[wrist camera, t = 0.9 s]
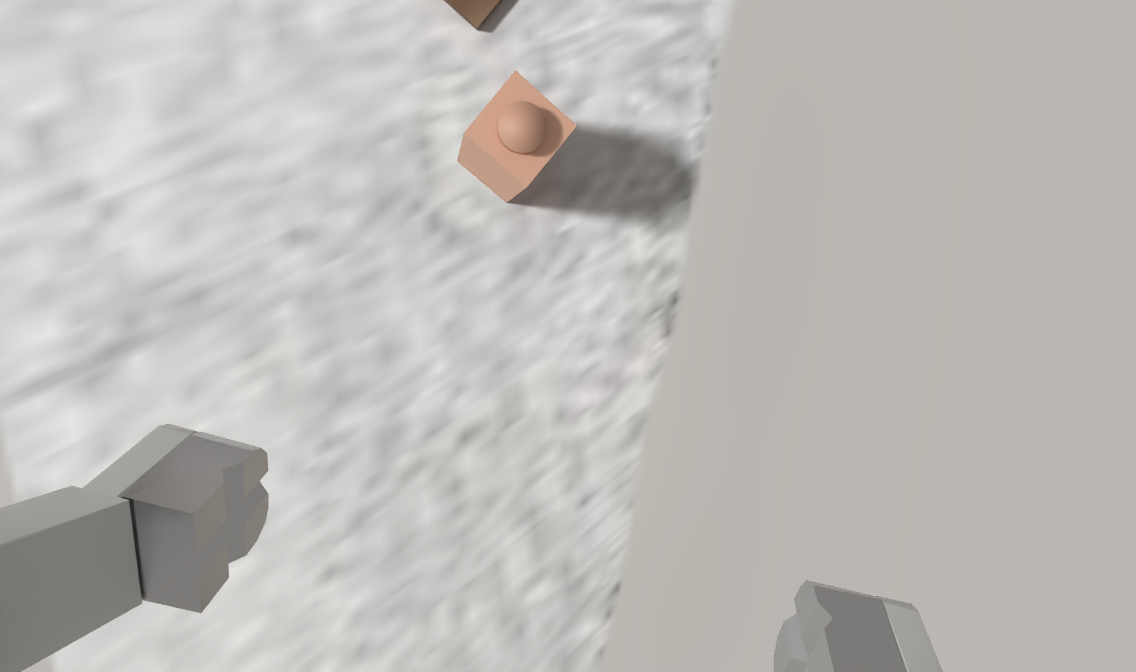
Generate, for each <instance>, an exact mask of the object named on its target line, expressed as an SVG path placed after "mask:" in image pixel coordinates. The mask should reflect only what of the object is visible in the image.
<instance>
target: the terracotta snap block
mask: <svg viewBox="0 0 1136 672" xmlns="http://www.w3.org/2000/svg"><path fill="white" fill-rule="evenodd" d="M575 128H576V125H575V124H574V123H573V122H572V121H571V120H570V119H569V118H568V117H567V116H565V115H564V114H563V113H562V112H561V111H560V110H559V109H558V108H557V107H555V106H554V105H553V104H552V103H551V102H550V101H549V100H548V99H547V98H545V97H544V96H543V95H542V94H541V93H540V92H539V91H538V90H537V89H535V88H534V87H533V86H532V85H531V84H530V83H529V82H528V81H527V80H526V79H524V78H523V77H522V76H521V75H520V74H519V73H518V72H517V71H516V70H515V71H514V73H513V74H512V75H511V76H510V78H509V79H508V80H507V81H506V82H505V84H504V85H503V86H502V87H501V89H500V90H499V91H498V92H497V93H496V95H495V96H494V97H493V98H492V100H491V101H490V102H489V103H488V104H487V106H486V107H485V108H484V109H483V111H482V112H481V113H480V114H479V115H478V117H477V118H476V119H475V120H474V122H473V123H472V124H471V125H470V126H469V128H468V129H467V130H466V131H465V133H464V135H463V139H462V143H461V147H460V151H459V156H458V160H457V161H458V162H459V163H460V164H461V165H463V166H464V167H465V168H466V169H467V170H468V171H470V172H471V173H472V174H473V175H474V176H476V177H477V178H478V179H479V180H480V181H481V182H483V183H484V184H485V185H486V186H487V187H489V188H490V189H491V190H492V191H493V192H494V193H496V194H497V195H498V196H499V197H500V198H502V199H503V200H504V201H505V202H506V203H507V202H508V201H510V200H511V199H512V198H514V197H515V196H516V195H518V194H519V193H520V192H521V191H523V190H524V189H525V188H527V187H528V185H529V184H530V183H531V182H532V181H533V179H534V178H535V177H536V176H537V174H538V173H539V172H540V171H541V169H542V168H543V167H544V166H545V165H546V163H547V162H548V161H549V160H550V158H551V157H552V156H553V155H554V153H555V152H556V151H557V150H558V149H559V147H560V146H561V145H562V144H563V142H564V141H565V140H566V139H567V137H568V136H569V135H570V134H571V133H572V131H573V130H574V129H575Z"/></svg>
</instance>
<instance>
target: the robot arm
mask: <svg viewBox="0 0 1136 672" xmlns="http://www.w3.org/2000/svg"><path fill="white" fill-rule="evenodd" d="M267 471H268V460H267V452H265V451H264V450H263V449H262V448H259V447H256V446H252V445H248V444H244V443H241V442H237V441H233V440H230V439H226V438H222V437H218V436H215V435H211V434H207V433H203V432H197V431H193V430H190V429H186V428H182V427H179V426H175V425H171V424H166V425H162V426H158V427H157V428H155V429H154V430H153V431H152V432H150V433H149V434H148V435H147V436H146V437H144V438H143V439H142V440H141V441H139V442H138V443H137V444H136V445H135V446H133V447H132V448H131V449H130V450H128V451H127V452H126V453H125V454H124V455H122V456H121V457H120V458H119V459H117V460H116V461H115V462H114V463H113V464H111V465H110V466H109V467H108V468H106V469H105V470H104V471H103V472H101V473H100V474H99V475H98V476H97V477H95V478H94V479H93V480H92V481H90V482H89V483H88V484H87V485H86V486H84V487H83V488H79V487H74V486H70V487H67V488H64V489H60V490H57V491H54V492H51V493H48V494H44V495H41V496H38V497H35V498H32V499H29V500H25V501H22V502H19V503H16V504H13V505H9V506H6V507H3V508H0V672H21V671H22V670H24V669H26V668H28V667H30V666H32V665H33V664H35V663H37V662H39V661H40V660H42V659H44V658H46V657H48V656H49V655H51V654H53V653H55V652H56V651H58V650H60V649H62V648H64V647H65V646H67V645H69V644H71V643H72V642H74V641H76V640H78V639H80V638H81V637H83V636H85V635H87V634H88V633H90V632H92V631H94V630H96V629H97V628H99V627H101V626H103V625H104V624H106V623H108V622H110V621H112V620H113V619H115V618H117V617H119V616H120V615H122V614H124V613H126V612H128V611H129V610H131V609H133V608H135V607H137V606H138V605H140V604H142V600H145V601H149V602H154V603H158V604H163V605H167V606H172V607H176V608H181V609H185V610H190V611H194V612H199V613H202V611H203V610H204V609H205V607H206V606H207V605H208V604H209V602H210V601H211V600H212V599H213V597H214V596H215V595H216V593H217V592H218V591H219V590H220V588H221V587H222V586H223V584H224V583H225V582H226V581H227V579H228V578H229V570H228V563H230V562H233V561H235V560H237V559H239V558H241V557H243V556H246V555H247V553H248V552H249V551H250V549H251V548H252V547H253V545H254V544H255V543H256V541H257V539H258V537H259V535H260V533H261V531H262V528H263V526H264V524H265V521H266V516H267V511H268V493H267V491H266V490H265V489H264V487H263V486H262V484H261V483H260V480H261V478H262V477H263V476H264V475H265V474H266V473H267ZM794 600H795V605H796V611H797V614H796V615H794V616H792V617H790V618H788V619H786V620H785V621H784V622H783V625H782V627H781V630H780V632H779V635H778V637H777V642H776V648H775V654H774V672H943V671H942V669H941V666H940V664H939V661H938V659H937V656H936V654H935V651H934V649H933V647H932V644H931V642H930V639H929V636H928V634H927V632H926V629H925V627H924V624H923V622H922V619H921V617H920V614H919V612H918V610H917V609H916V608H915V607H914V606H913V605H912V604H910V603H905V602H901V601H896V600H892V599H887V598H883V597H879V596H875V597H874V596H871V595H867V594H863V593H859V592H854V591H850V590H846V589H842V588H837V587H833V586H829V585H824V584H820V583H816V582H812V581H807V580H806V581H805V582H804V583H803V585H801V586H800V588H799V590H798V592H797V594H796V596H795V599H794Z"/></svg>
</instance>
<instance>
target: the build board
mask: <svg viewBox="0 0 1136 672" xmlns="http://www.w3.org/2000/svg"><path fill="white" fill-rule="evenodd" d="M444 1H446V2H447V3H448V4H449V5H450V6H451V7H452V8H453V9H454V10H455V11H457V12H458V13H459V14H460V15H461V16H462V17H463V18H464V19H465V20H467V21H468V22H469V23H470V24H471V25H472V26H473V27H474V28H475V29H476V30H478V29H479V28H480V27H481V25H482V24H483V23H484V22H485V21H486V19H487V18H488V17H489V16H490V14H491V13H492V12H493V11H494V10H495V8H496V7H497V6H498V5H499V4H500V2H501V1H502V0H444Z"/></svg>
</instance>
